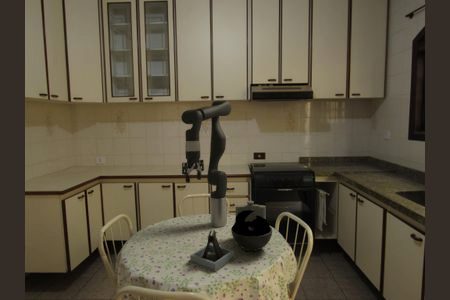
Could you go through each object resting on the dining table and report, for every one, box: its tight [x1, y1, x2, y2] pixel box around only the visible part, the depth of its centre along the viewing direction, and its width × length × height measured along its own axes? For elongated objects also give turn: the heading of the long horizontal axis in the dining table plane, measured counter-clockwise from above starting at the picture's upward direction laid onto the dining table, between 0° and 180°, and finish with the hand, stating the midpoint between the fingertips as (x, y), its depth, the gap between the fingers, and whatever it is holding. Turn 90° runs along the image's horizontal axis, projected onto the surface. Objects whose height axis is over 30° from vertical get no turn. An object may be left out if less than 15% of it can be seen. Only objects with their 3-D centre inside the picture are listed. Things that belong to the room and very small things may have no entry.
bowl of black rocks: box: [230, 210, 273, 251], centre depth 135 cm, size 20×20×19 cm
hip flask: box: [234, 200, 267, 222], centre depth 148 cm, size 16×4×20 cm, turn 86°
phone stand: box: [202, 229, 223, 262], centre depth 125 cm, size 9×6×12 cm, turn 84°
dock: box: [188, 243, 236, 273], centre depth 125 cm, size 15×15×3 cm
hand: (193, 181), depth 142 cm, fingers open, 8 cm apart
